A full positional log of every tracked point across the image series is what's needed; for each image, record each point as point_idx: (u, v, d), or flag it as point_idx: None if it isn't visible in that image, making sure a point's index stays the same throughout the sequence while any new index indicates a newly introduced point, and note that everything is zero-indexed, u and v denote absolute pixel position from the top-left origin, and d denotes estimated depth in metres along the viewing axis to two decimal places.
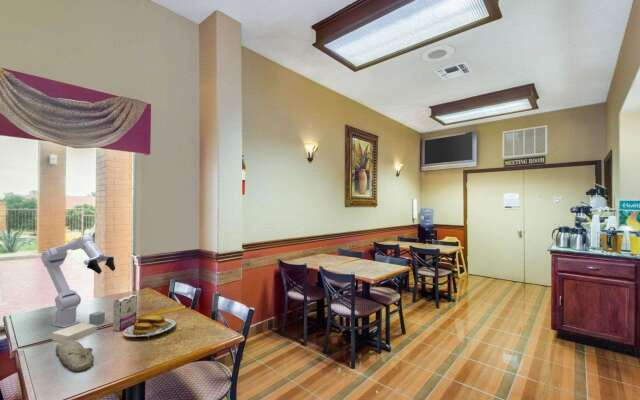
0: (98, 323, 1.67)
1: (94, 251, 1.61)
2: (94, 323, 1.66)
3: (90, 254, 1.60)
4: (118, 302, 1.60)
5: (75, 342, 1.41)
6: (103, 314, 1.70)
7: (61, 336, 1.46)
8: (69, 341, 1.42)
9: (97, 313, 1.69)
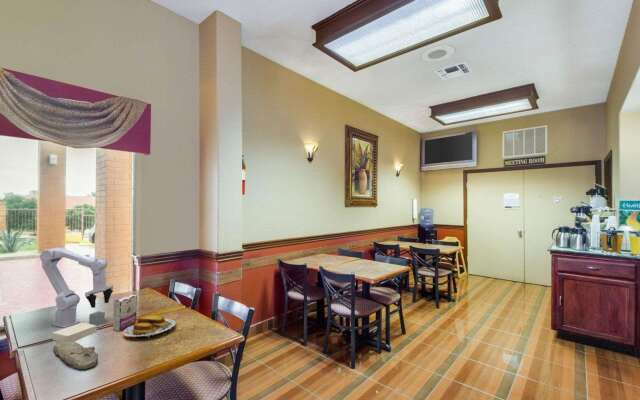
0: (98, 323, 1.67)
1: (100, 283, 1.67)
2: (94, 323, 1.66)
3: (95, 284, 1.66)
4: (118, 302, 1.60)
5: (73, 342, 1.40)
6: (103, 314, 1.70)
7: (61, 336, 1.46)
8: (67, 341, 1.41)
9: (97, 313, 1.69)
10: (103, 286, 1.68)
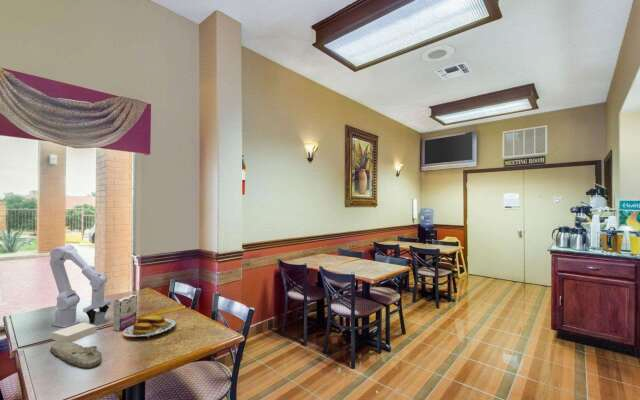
0: (98, 323, 1.67)
1: (98, 300, 1.67)
2: (94, 323, 1.66)
3: (93, 300, 1.66)
4: (118, 302, 1.60)
5: (71, 343, 1.40)
6: (103, 314, 1.70)
7: (60, 336, 1.46)
8: (64, 342, 1.40)
9: (97, 313, 1.69)
10: (101, 302, 1.68)
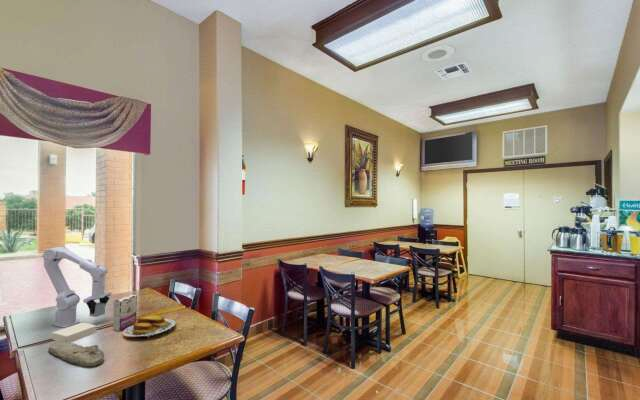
0: (98, 314, 1.67)
1: (99, 290, 1.67)
2: (94, 314, 1.66)
3: (94, 291, 1.66)
4: (118, 302, 1.60)
5: (70, 343, 1.40)
6: (103, 305, 1.70)
7: (60, 336, 1.46)
8: (62, 343, 1.40)
9: (97, 304, 1.69)
10: (102, 293, 1.68)
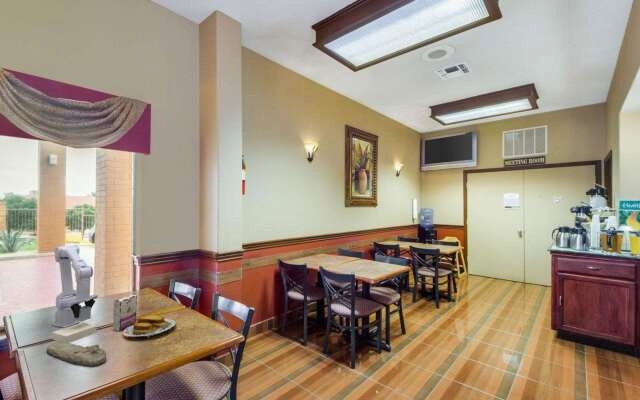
0: (83, 318, 1.56)
1: (83, 293, 1.55)
2: (79, 318, 1.54)
3: (78, 293, 1.55)
4: (118, 302, 1.60)
5: (68, 344, 1.39)
6: (89, 309, 1.58)
7: (60, 336, 1.46)
8: (60, 343, 1.39)
9: (82, 308, 1.57)
10: (87, 296, 1.57)
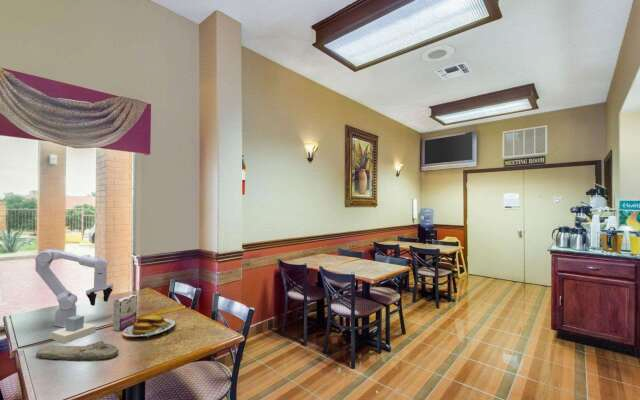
0: (77, 328, 1.52)
1: (101, 282, 1.72)
2: (72, 328, 1.50)
3: (96, 283, 1.71)
4: (118, 302, 1.60)
5: (61, 346, 1.36)
6: (82, 318, 1.54)
7: (59, 336, 1.46)
8: (50, 347, 1.35)
9: (75, 317, 1.53)
10: (104, 285, 1.73)
